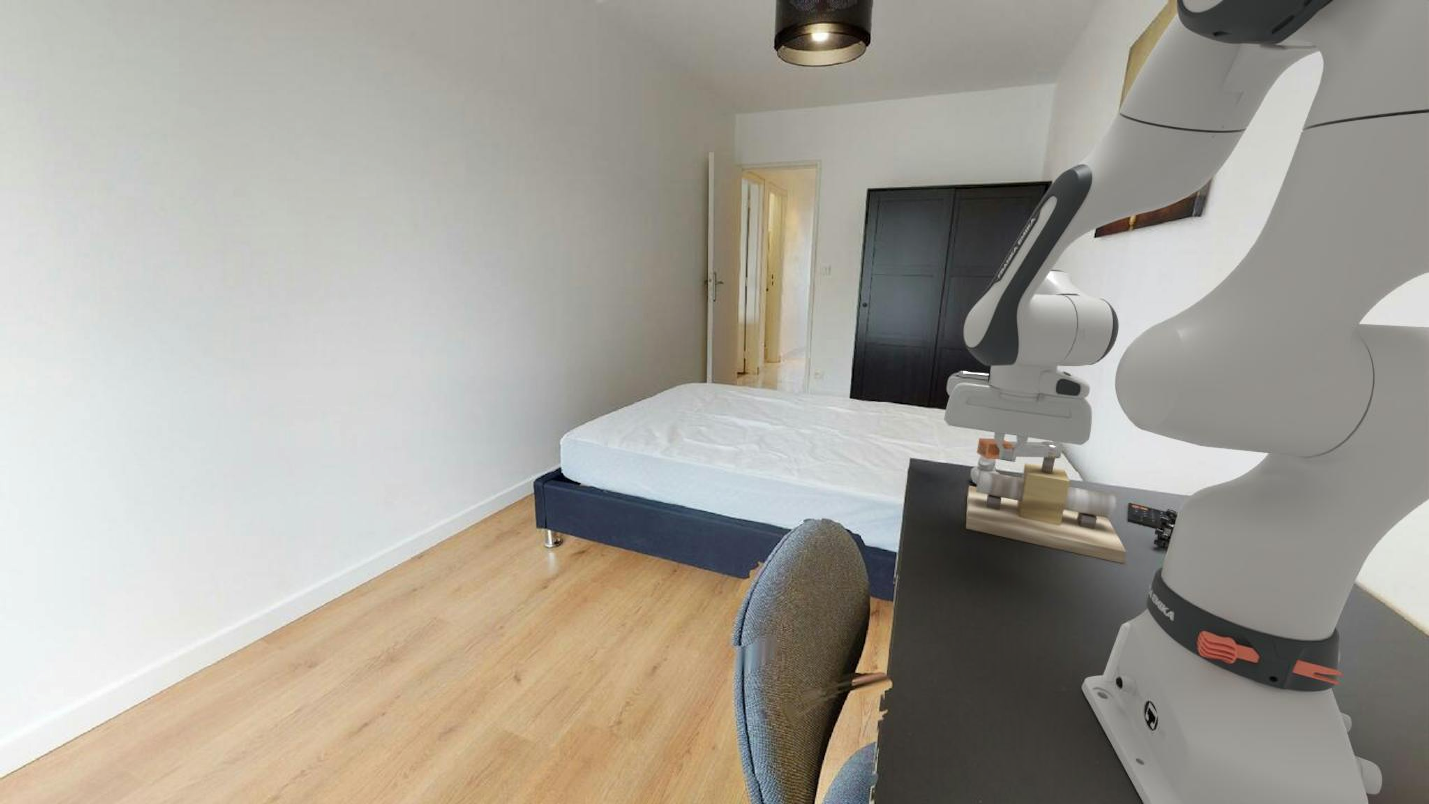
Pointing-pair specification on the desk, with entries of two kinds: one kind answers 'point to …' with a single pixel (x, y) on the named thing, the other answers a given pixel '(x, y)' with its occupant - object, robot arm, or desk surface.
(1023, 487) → the valve stand
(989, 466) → the white meringue swirl
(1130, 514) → the calculator
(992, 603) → the desk surface
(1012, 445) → the valve lever
